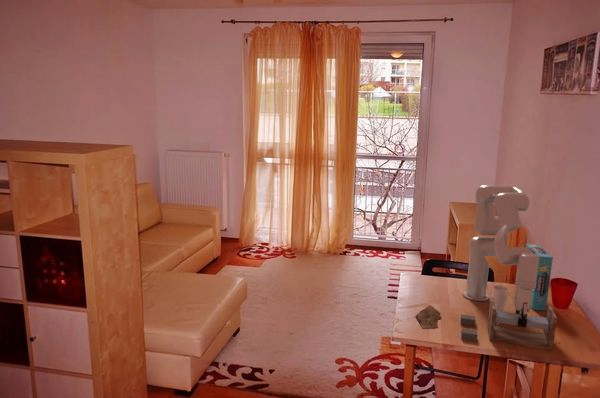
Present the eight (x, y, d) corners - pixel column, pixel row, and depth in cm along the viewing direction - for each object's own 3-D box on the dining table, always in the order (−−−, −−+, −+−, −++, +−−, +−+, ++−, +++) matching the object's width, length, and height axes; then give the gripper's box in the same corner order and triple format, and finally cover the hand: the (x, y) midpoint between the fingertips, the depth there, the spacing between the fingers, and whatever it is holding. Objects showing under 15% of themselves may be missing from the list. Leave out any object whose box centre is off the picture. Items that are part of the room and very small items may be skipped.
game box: (546, 311, 220) (554, 257, 214) (532, 310, 221) (539, 256, 215) (532, 294, 239) (539, 244, 234) (519, 293, 240) (526, 243, 235)
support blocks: (460, 320, 209) (461, 314, 208) (474, 322, 207) (475, 316, 206) (461, 339, 192) (462, 332, 191) (476, 341, 190) (477, 335, 189)
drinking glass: (494, 322, 207) (497, 291, 204) (485, 315, 214) (489, 285, 211) (507, 321, 209) (511, 290, 205) (499, 314, 215) (502, 284, 212)
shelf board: (545, 323, 192) (546, 317, 191) (548, 329, 186) (548, 324, 186) (493, 315, 198) (494, 310, 197) (495, 322, 192) (495, 316, 192)
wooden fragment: (436, 332, 198) (436, 329, 198) (410, 326, 202) (411, 324, 202) (444, 308, 221) (444, 306, 221) (421, 304, 225) (421, 302, 225)
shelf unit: (487, 327, 202) (490, 297, 200) (546, 336, 196) (551, 305, 193) (489, 340, 191) (493, 309, 188) (552, 350, 184) (557, 318, 181)
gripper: (512, 274, 197) (508, 312, 201) (518, 289, 181) (513, 330, 185) (532, 276, 195) (526, 315, 199) (539, 292, 179) (533, 333, 183)
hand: (520, 322), depth 192 cm, fingers open, 7 cm apart
